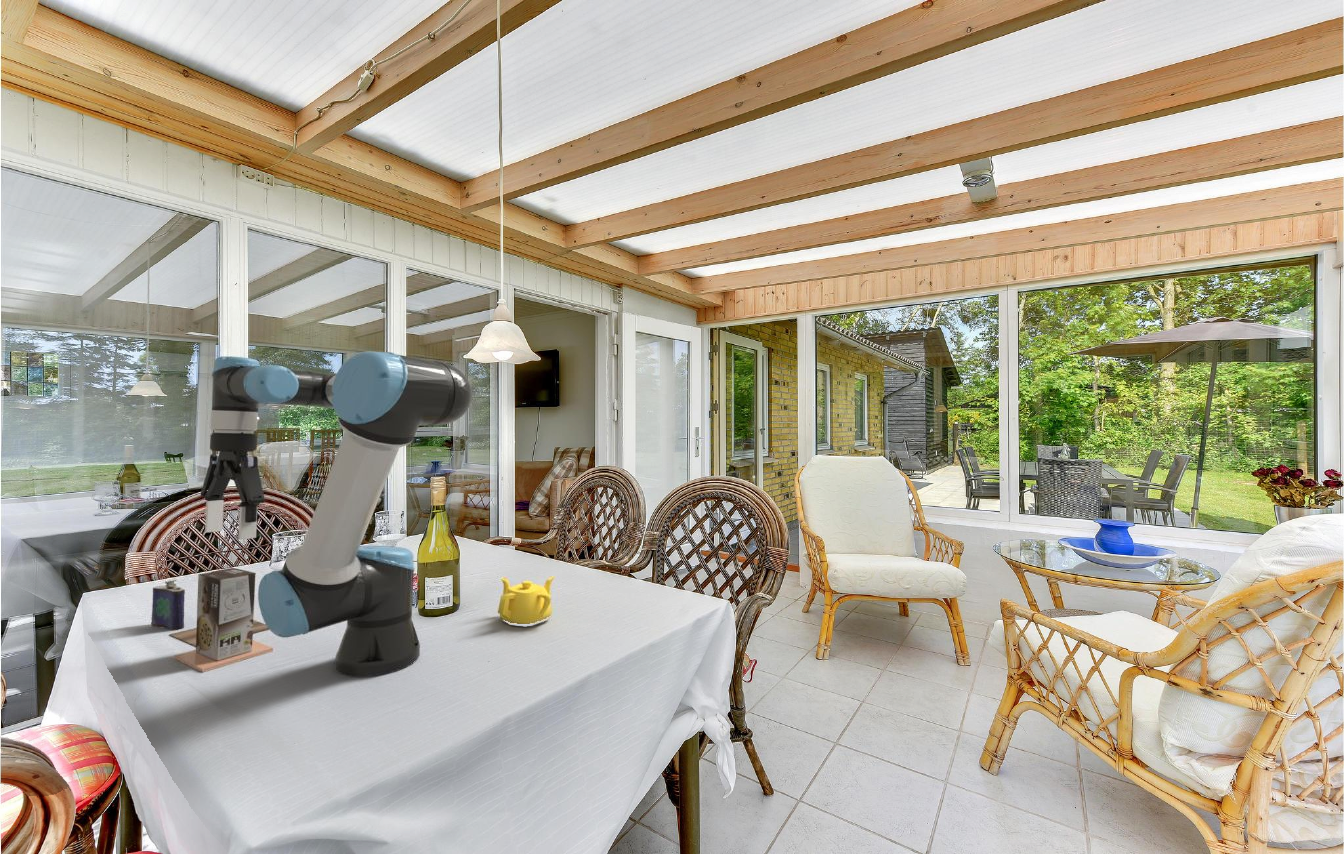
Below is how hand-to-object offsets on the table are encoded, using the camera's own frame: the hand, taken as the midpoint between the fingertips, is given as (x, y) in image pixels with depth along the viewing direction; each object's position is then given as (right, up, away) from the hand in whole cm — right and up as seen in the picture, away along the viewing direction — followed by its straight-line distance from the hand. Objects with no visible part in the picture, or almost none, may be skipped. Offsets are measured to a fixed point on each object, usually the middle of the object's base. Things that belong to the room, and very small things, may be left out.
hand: (230, 535), depth 110 cm
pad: (-1, -25, 0) cm, 25 cm away
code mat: (-11, -24, +12) cm, 29 cm away
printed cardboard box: (-1, -24, 0) cm, 24 cm away
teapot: (+54, -27, +25) cm, 65 cm away
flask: (-26, -24, +14) cm, 38 cm away
